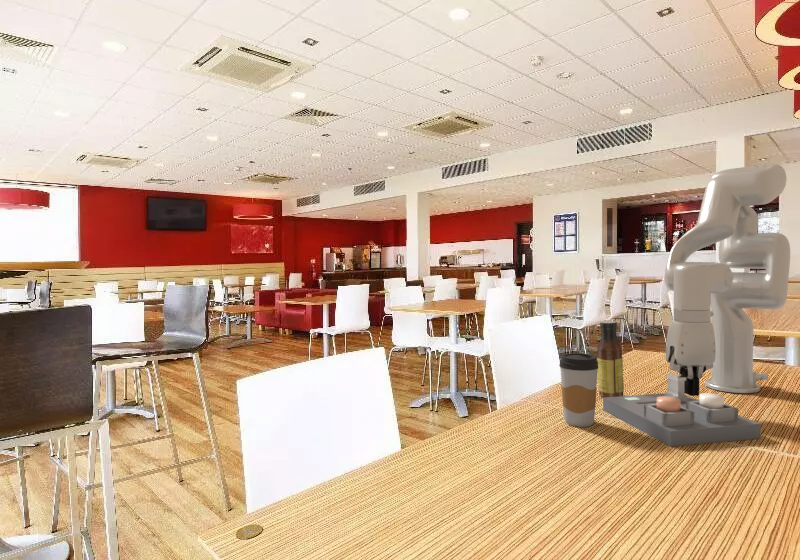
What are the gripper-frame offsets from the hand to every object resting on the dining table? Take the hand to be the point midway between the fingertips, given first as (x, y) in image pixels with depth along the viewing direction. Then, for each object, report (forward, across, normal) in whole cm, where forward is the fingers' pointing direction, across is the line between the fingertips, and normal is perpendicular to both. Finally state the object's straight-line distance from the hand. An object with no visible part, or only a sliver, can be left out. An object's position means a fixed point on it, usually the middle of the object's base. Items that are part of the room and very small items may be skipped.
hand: (691, 394), depth 120 cm
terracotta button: (-1, +15, +12) cm, 19 cm away
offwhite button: (-1, +5, +12) cm, 13 cm away
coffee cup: (+5, +29, +1) cm, 29 cm away
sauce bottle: (+4, +11, -16) cm, 20 cm away
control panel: (+4, +9, +6) cm, 11 cm away
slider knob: (+1, +4, 0) cm, 4 cm away
